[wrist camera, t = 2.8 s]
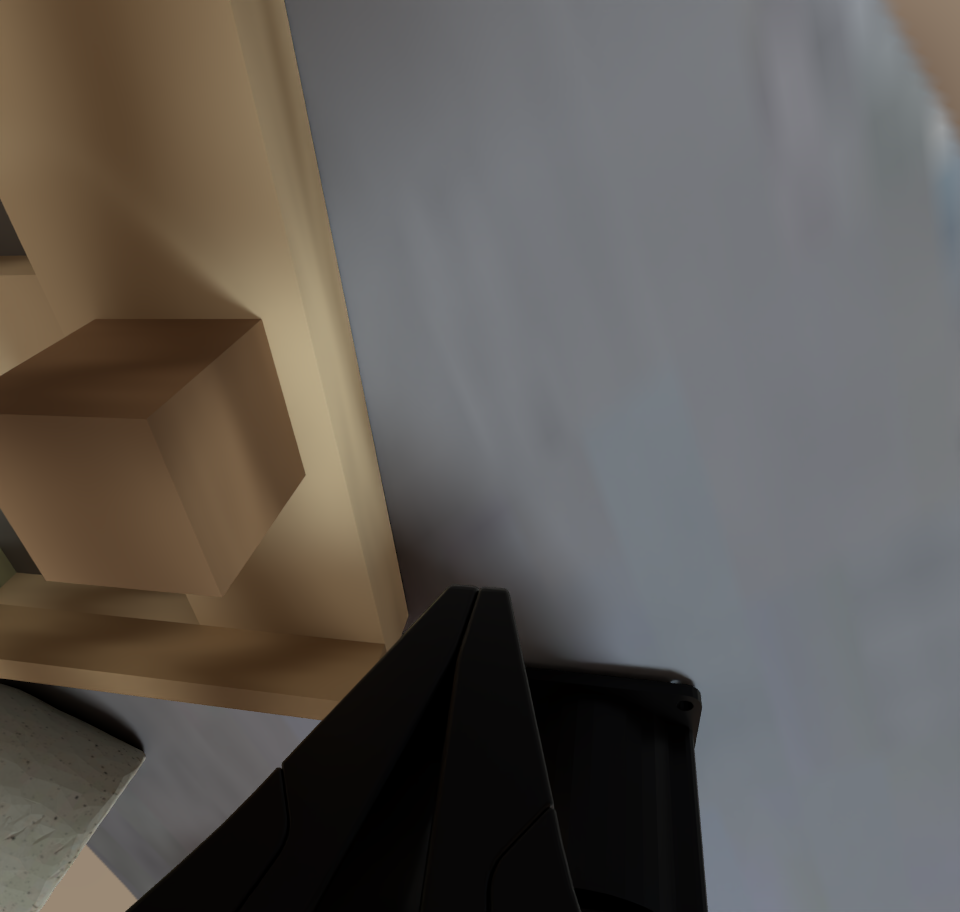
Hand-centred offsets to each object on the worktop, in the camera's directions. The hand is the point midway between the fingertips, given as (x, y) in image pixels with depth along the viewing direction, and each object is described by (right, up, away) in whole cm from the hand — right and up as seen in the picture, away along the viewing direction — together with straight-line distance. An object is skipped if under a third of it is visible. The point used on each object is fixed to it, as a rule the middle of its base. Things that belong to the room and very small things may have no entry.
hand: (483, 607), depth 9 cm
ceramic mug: (-20, -11, +22) cm, 31 cm away
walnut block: (-6, +3, +6) cm, 9 cm away
